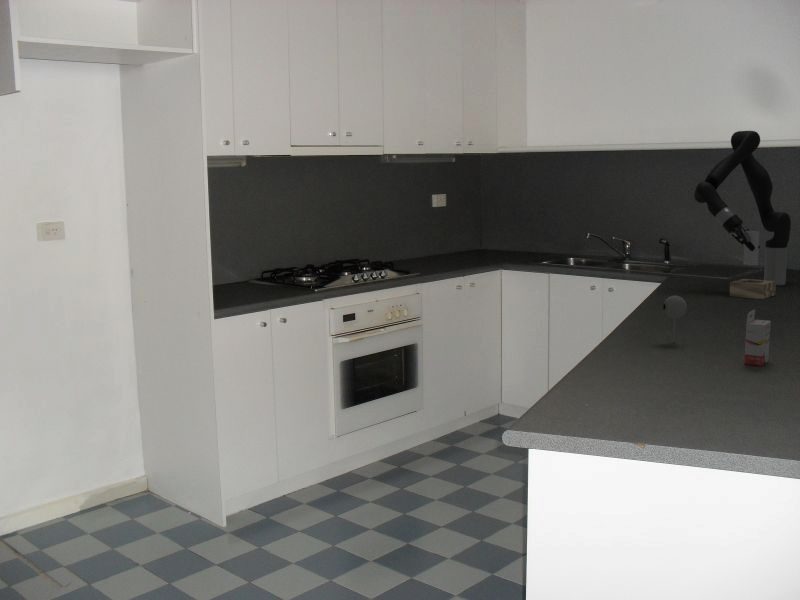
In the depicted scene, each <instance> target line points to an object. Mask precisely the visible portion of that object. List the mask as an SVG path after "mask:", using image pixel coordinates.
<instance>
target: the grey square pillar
mask: <svg viewBox="0 0 800 600" xmlns="http://www.w3.org/2000/svg"><path fill="white" fill-rule="evenodd" d="M745 235H746V236H747V239H748V240H749V242H751V243H752V244H753V245H754V247H755V249H754V250H753V251H750V250H749V249H748V247H747V246H746V245H744V244H743V265H747V266H757V265H759V250H760V248H759V246H760V231H759V230H750V231H745Z"/></svg>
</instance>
